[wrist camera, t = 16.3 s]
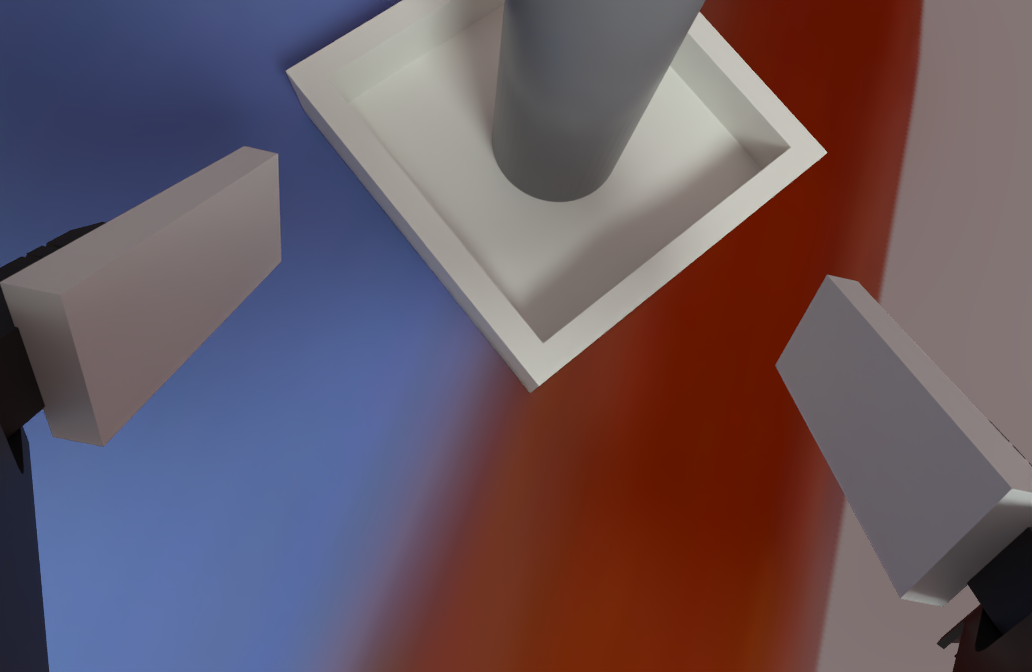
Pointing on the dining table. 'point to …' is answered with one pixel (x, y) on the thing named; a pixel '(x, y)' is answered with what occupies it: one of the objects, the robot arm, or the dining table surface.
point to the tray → (527, 220)
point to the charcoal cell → (578, 86)
